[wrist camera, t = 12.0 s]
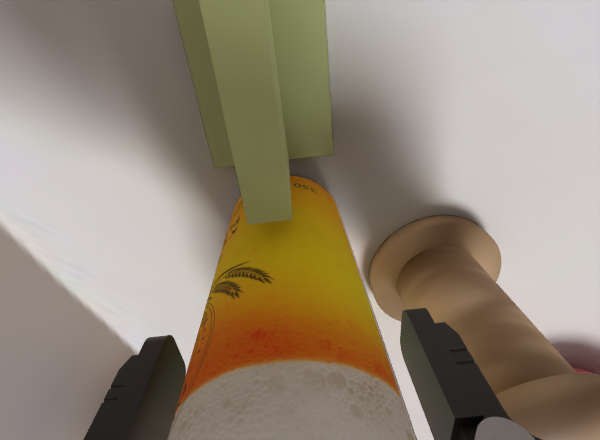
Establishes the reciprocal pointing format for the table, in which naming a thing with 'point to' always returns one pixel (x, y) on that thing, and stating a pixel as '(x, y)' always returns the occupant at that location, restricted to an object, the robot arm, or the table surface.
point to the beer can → (290, 337)
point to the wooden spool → (485, 323)
